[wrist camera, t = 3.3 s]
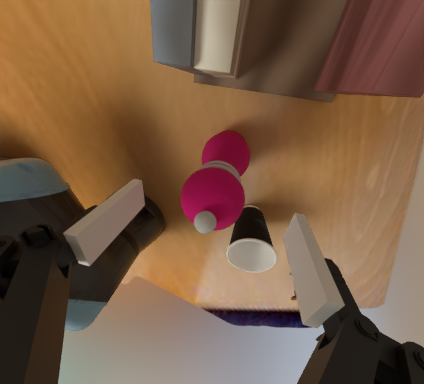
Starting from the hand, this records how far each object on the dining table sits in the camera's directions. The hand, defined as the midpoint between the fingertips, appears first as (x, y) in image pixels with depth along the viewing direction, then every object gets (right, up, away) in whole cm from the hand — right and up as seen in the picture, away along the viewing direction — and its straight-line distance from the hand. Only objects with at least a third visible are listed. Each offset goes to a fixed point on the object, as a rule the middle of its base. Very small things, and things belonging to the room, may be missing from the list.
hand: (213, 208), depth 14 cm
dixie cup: (+8, -3, +21) cm, 23 cm away
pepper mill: (+3, +9, +15) cm, 18 cm away
